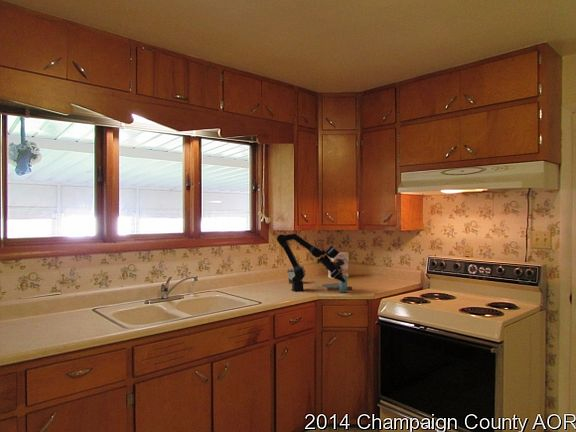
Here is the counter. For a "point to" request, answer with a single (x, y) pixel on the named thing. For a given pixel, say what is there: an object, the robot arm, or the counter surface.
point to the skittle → (343, 284)
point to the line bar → (337, 288)
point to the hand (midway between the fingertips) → (345, 281)
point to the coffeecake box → (344, 267)
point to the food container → (291, 275)
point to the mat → (331, 285)
